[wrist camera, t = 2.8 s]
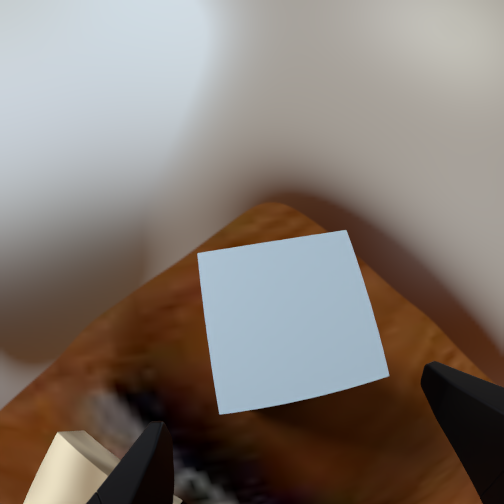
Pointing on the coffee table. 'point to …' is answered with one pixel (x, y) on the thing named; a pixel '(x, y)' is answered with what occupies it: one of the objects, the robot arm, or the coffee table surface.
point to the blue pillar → (288, 321)
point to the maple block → (72, 470)
